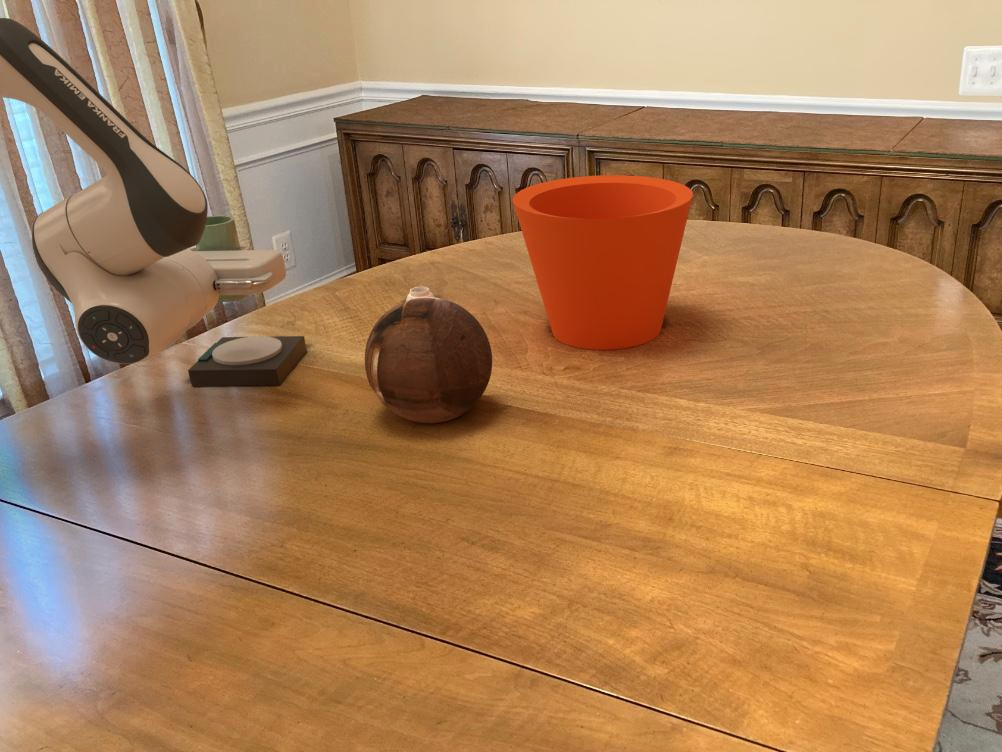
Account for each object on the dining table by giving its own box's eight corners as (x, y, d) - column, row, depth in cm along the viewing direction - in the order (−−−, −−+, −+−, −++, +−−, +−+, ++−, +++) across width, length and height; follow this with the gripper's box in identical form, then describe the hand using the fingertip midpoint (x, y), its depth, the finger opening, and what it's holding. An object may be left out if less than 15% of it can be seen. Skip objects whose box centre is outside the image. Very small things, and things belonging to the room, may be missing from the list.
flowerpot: (604, 290, 160) (600, 168, 151) (725, 325, 145) (730, 190, 135) (487, 333, 145) (475, 199, 136) (609, 377, 129) (604, 229, 120)
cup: (201, 302, 126) (183, 226, 122) (217, 289, 131) (200, 215, 126) (241, 302, 126) (224, 225, 122) (255, 289, 131) (240, 214, 126)
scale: (191, 386, 131) (186, 366, 129) (225, 352, 141) (221, 333, 140) (279, 385, 130) (275, 364, 129) (307, 351, 141) (303, 331, 139)
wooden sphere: (487, 385, 128) (477, 274, 121) (505, 435, 115) (495, 314, 108) (371, 400, 125) (354, 287, 118) (376, 453, 112) (357, 330, 105)
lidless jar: (442, 308, 155) (429, 299, 159) (440, 290, 154) (427, 282, 158) (413, 314, 153) (400, 306, 157) (410, 296, 152) (398, 288, 155)
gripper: (258, 259, 113) (296, 227, 125) (86, 262, 114) (140, 230, 126) (269, 311, 116) (305, 275, 128) (101, 314, 117) (152, 277, 129)
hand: (222, 253), depth 127 cm, fingers closed on cup, 5 cm apart
